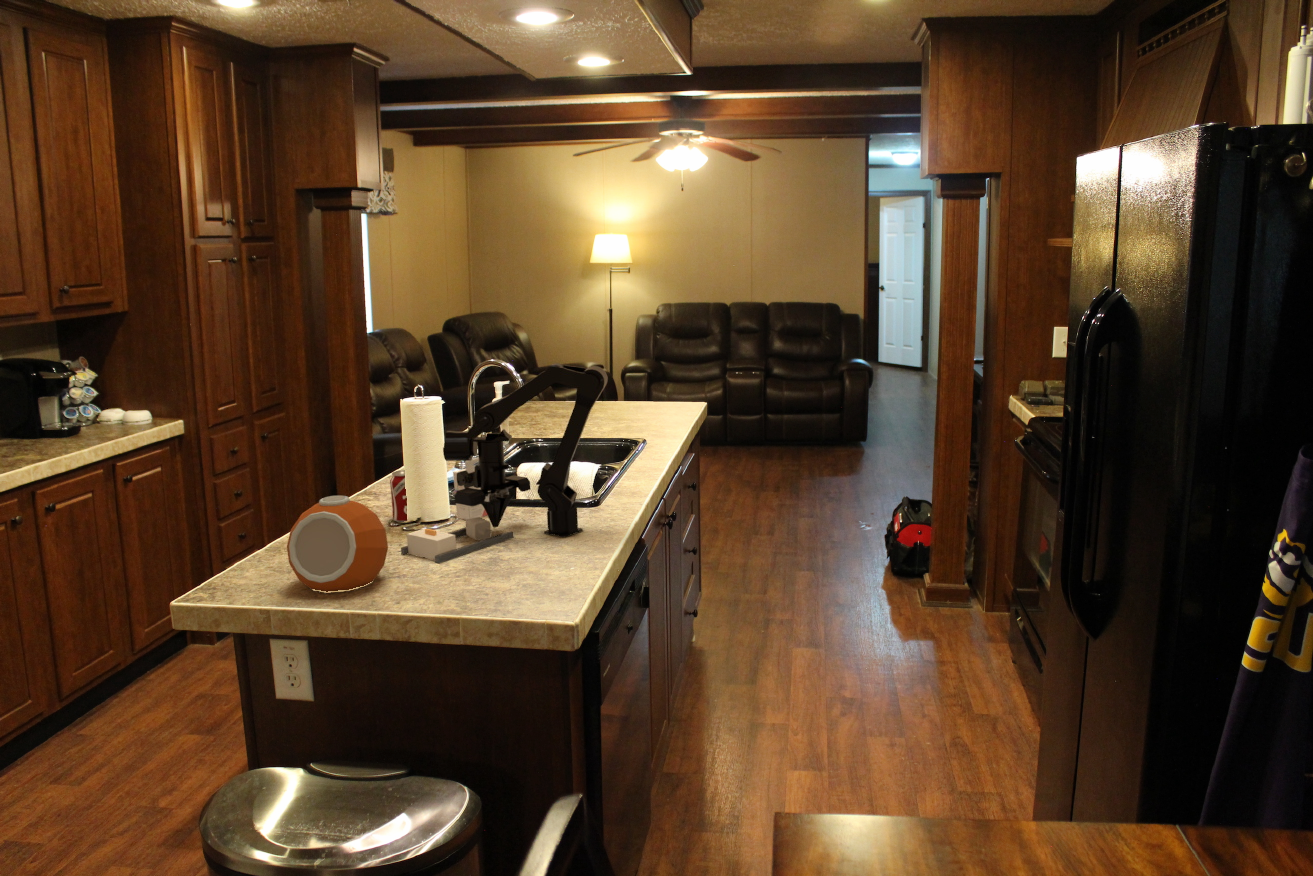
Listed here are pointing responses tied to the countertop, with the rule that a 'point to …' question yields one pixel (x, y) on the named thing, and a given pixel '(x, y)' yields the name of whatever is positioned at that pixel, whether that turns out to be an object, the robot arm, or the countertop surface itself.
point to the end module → (430, 543)
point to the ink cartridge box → (464, 510)
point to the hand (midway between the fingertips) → (495, 526)
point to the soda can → (398, 496)
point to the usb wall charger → (478, 528)
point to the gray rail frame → (469, 547)
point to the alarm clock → (337, 545)
